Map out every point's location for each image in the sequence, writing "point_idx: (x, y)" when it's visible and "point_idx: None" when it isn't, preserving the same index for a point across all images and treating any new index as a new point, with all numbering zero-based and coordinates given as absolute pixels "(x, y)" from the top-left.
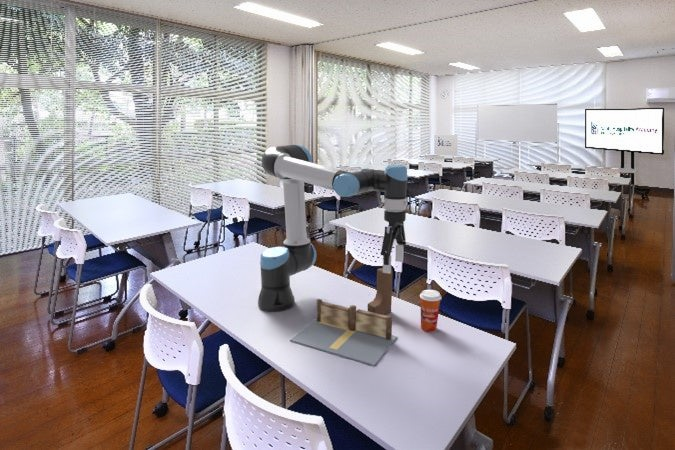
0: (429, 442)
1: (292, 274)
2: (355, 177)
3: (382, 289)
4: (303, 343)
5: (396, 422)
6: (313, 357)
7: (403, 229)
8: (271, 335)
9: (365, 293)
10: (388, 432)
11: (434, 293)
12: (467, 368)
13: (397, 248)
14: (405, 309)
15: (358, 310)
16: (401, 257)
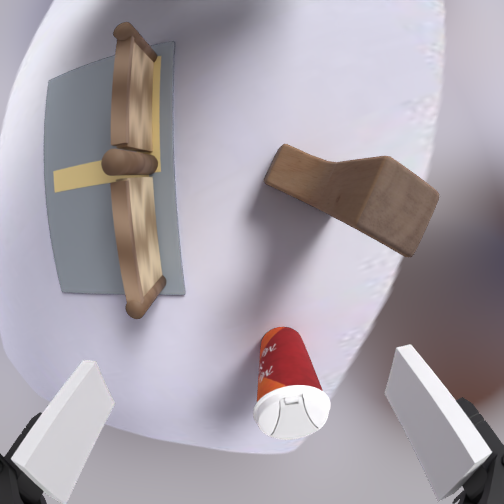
0: (29, 384)
1: None
2: None
3: (324, 201)
4: (45, 113)
5: (20, 352)
6: (26, 166)
7: None
8: (58, 39)
9: (409, 91)
10: (8, 347)
11: (298, 428)
12: (170, 422)
13: (447, 445)
14: (368, 249)
15: (115, 188)
16: (400, 413)
